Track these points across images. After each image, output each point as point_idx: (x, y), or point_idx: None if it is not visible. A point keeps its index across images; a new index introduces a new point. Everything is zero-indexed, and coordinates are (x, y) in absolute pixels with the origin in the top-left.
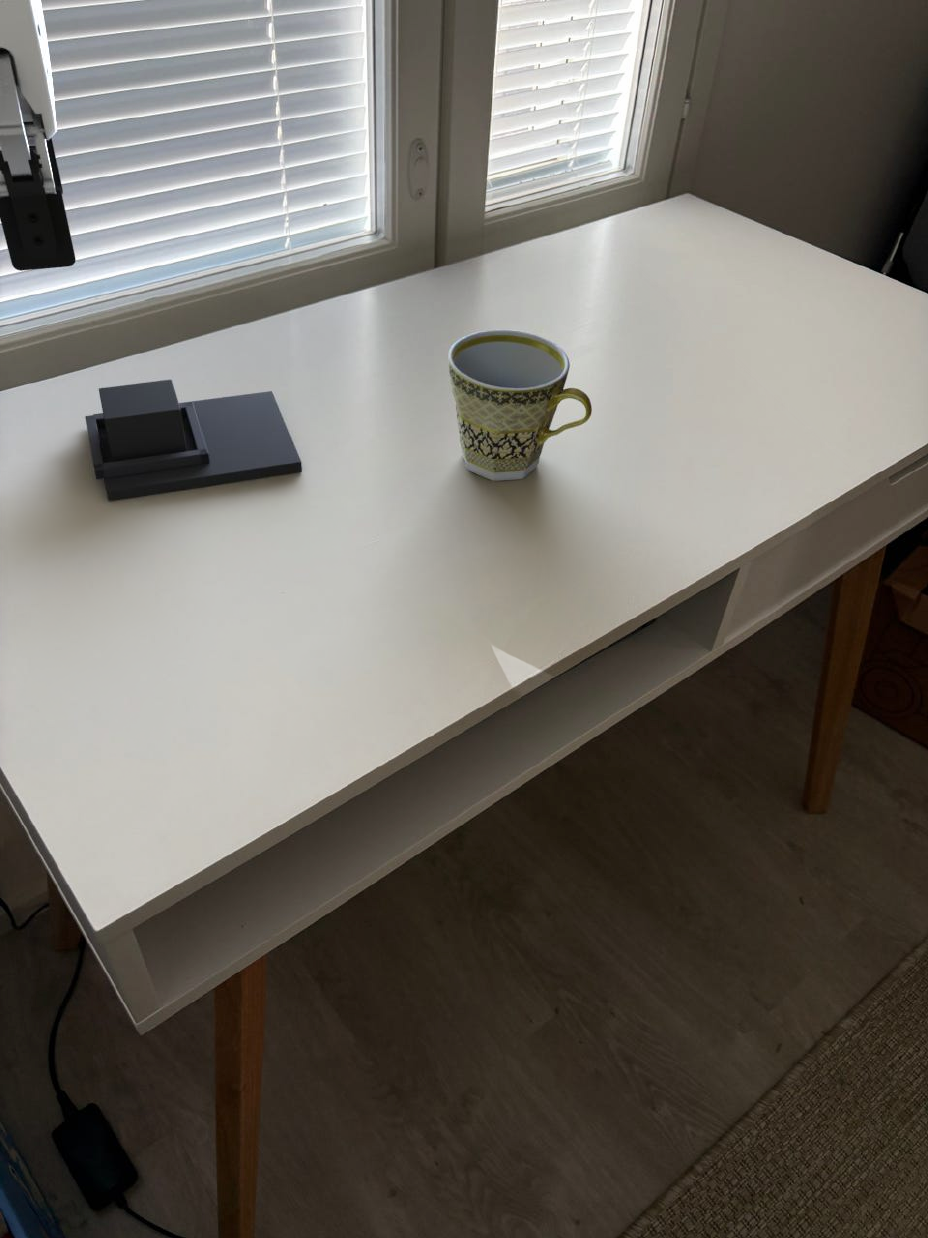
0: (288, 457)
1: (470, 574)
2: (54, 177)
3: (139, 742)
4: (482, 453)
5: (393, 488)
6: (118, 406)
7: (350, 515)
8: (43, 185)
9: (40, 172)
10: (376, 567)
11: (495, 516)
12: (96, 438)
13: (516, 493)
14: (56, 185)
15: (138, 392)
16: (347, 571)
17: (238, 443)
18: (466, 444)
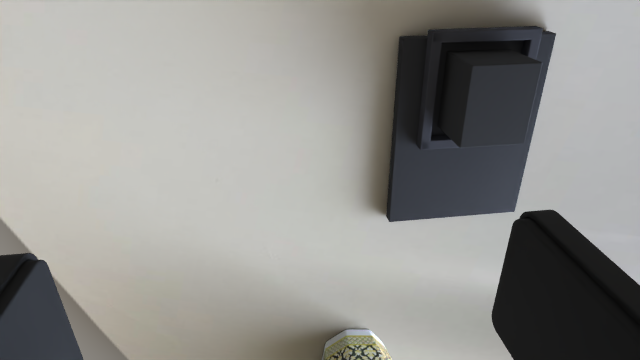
0: (400, 212)
1: (214, 309)
2: (516, 354)
3: (24, 39)
4: (334, 355)
5: (338, 278)
6: (493, 83)
7: (311, 243)
8: (514, 314)
9: (534, 342)
10: (236, 251)
11: (281, 335)
12: (492, 38)
13: (306, 352)
14: (504, 338)
15: (512, 107)
16: (235, 231)
17: (439, 173)
18: (347, 349)
